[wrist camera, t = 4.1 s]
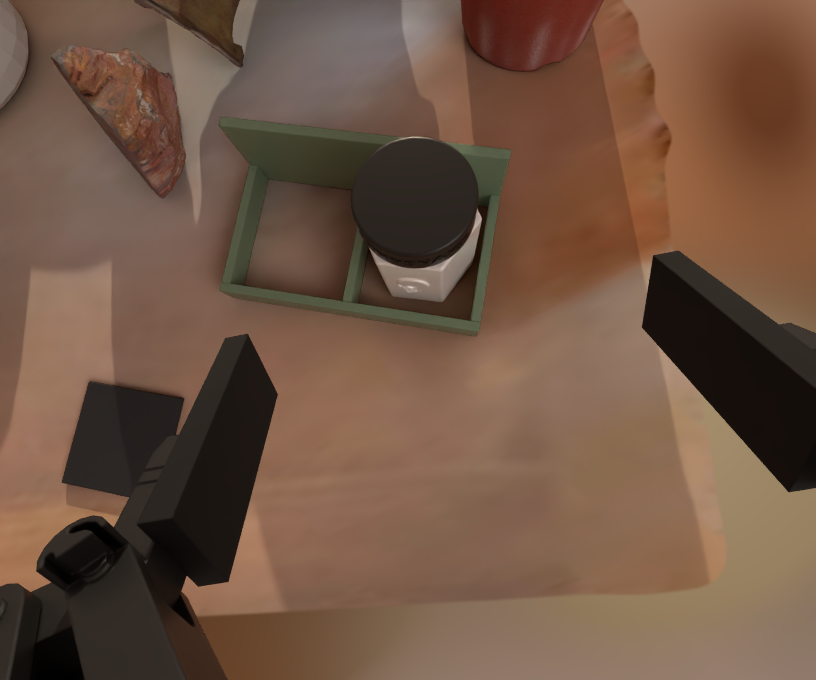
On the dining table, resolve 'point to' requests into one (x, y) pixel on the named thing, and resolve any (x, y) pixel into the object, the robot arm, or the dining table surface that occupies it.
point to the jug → (204, 22)
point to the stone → (130, 109)
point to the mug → (11, 51)
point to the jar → (418, 215)
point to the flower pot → (527, 30)
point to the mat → (118, 436)
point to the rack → (337, 167)
